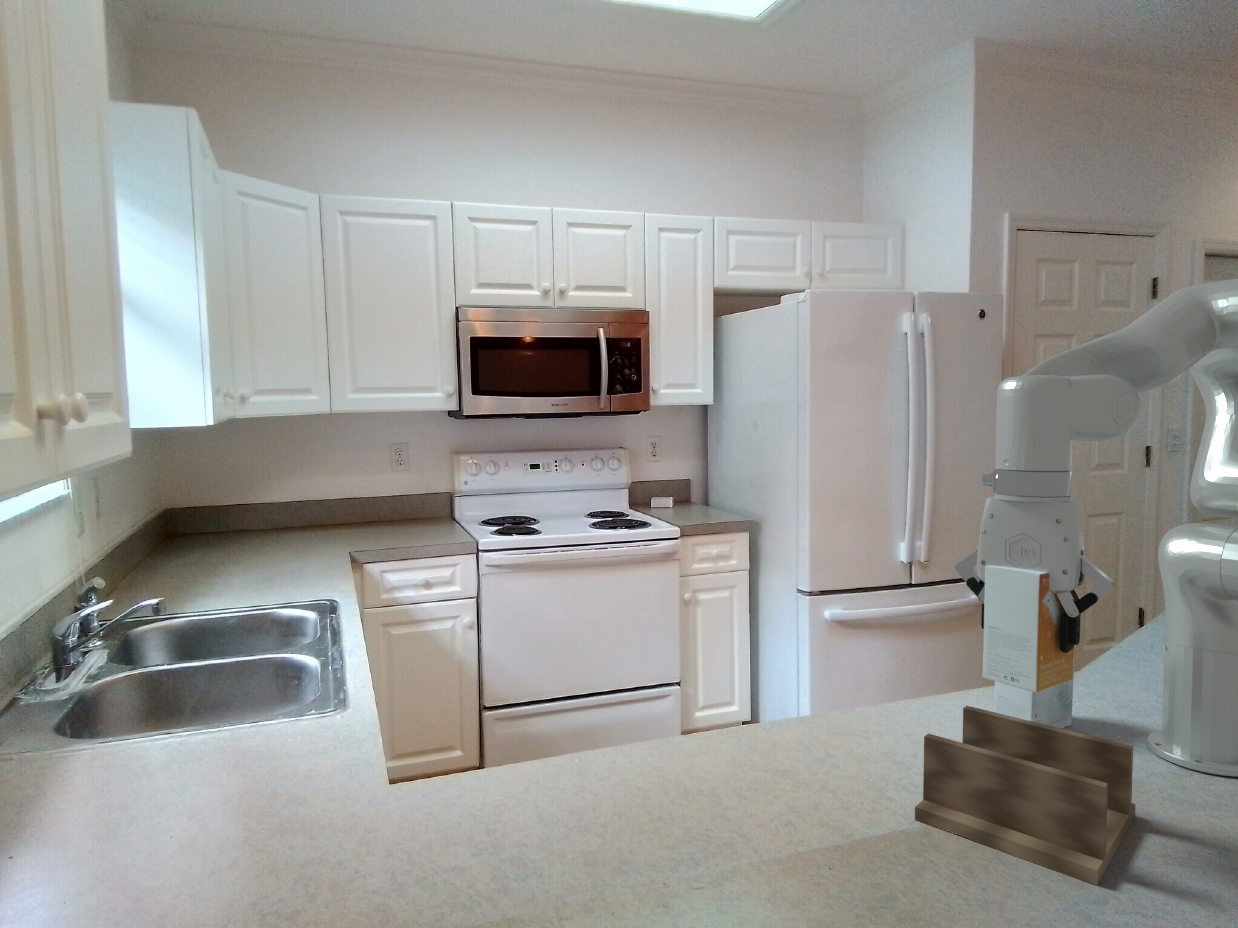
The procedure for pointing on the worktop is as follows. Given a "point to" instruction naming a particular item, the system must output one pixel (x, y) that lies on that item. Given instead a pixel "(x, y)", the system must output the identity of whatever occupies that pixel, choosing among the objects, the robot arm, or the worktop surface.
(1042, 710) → the skincare box
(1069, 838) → the book rack
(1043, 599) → the small box
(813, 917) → the worktop surface
